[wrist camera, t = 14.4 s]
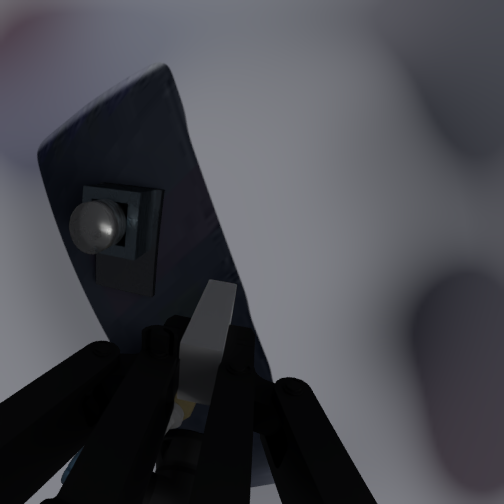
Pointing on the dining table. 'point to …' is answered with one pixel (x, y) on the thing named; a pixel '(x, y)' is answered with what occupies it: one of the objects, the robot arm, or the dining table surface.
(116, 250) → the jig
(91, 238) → the dark grey round knob
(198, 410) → the dining table surface
